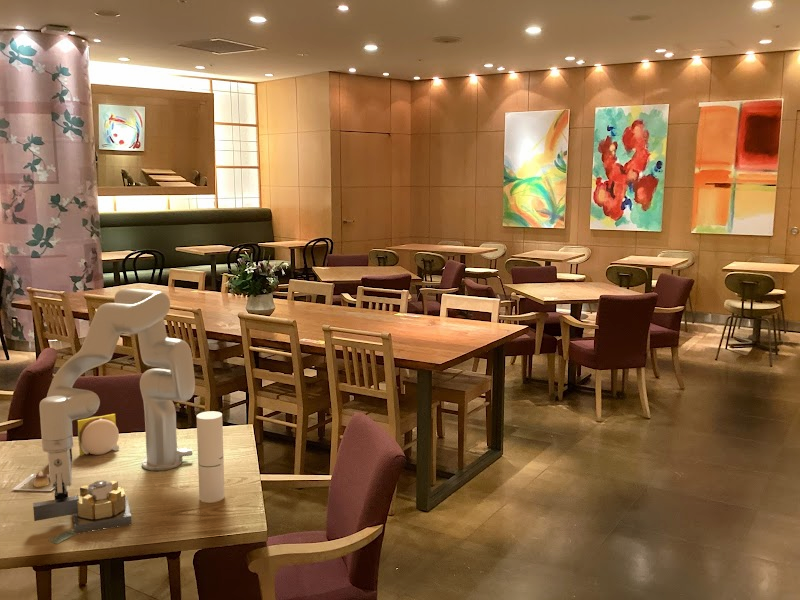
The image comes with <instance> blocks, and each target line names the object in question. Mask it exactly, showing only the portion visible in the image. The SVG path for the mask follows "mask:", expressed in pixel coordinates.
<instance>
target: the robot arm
mask: <svg viewBox="0 0 800 600" xmlns="http://www.w3.org/2000/svg"><path fill="white" fill-rule="evenodd" d="M113 299H114V300H113V301H114V302H106V303H103V304H101V305H100V306H99V307H98V308H96V311H95V314H94V315H93V318H92V321H91V323H90V325H89V328H88V330H87V333H86V335H85V338H84V340H83V343H82V346H81V348H80V349H79V351H77V352H76V353H75V354H74V355H72V356H71V357H70V358H68V360H66V361H65V362H64V363H63V364H62V365H61V366H60V368H59V369H58V370H57V371H56V373H55V374H54V376H53V378H52V380H51V383H50V386H49V389H48V391H47V394H46V397H45V398H43V399H42V400H40V402H39V417H40V420H39V421H40V431H41V432H40V433H41V443H42V444H41V449H42V452H45V453H47V462H48V471H49V473H48V474H50V477H49V479H50V480H49V482H50V485H51V489H52V488H54V487H55V488H54V500H55V499H61V498H67V497H69V491H68V489H67V486H68V487H70V486H72V479H73V473H72V461H71V458H70V449H71V448H73V447H74V435H73V434H74V433H73V421H75V420H76V421H77V420H83V419H87V418H90V417H92V416H93V415H94V414H96V412H98V411H99V407H100V405H101V399H100V398H99V395H98V394H97V393H95V392H94V391H93V390H89V389H81V388H76V387H75V388H74V387H73V386H74V384H75V383H76V381H77V380H78V378H79V377H81V376H82V375H83V374H85V373H86V372H87V371H90V370H92V369H94V368H96V367H99V366H102V365H104V364H106V363H108V362H110V361H111V360H112V358H113V355H114V352H115V350H116V347H117V344H118V342H119V341H120V337H121V335H122V334H128V335H137V339H138V345H139V351H140V358H141V361H142V362H143V364H144V365H146V366H148V367H154V368H150V369H147V370H146V371H145V370H144V372H143V373H142V374H141V377H140V379H139V389H140V394H141V397H142V400H143V401H142V402H143V410H144V423H145V425H144V426H145V427H144V429H145V446H146V447H145V448H146V457H145V458H144V459H142V461H141V466H142V468H143V469H146V470H149V471H158V472H159V471H166V470H167V471H168V470H171V469H175V468H177V467H179V466H180V465H181V464H182V463H183V457H189V456H193V450H192V449H187V448H188V447H186V448H181V449H180V448H179V447H178V440H177V439H178V436H177V413H176V412H177V411H176V410H177V409H176V406H175V404H174V402H187V401H189V400H190V399H191V398H192V397H193V396H194V395H195V394H194V393H195V389H196V379H195V370H194V369H195V368H194V362H193V360H194V359H193V354H192V349H191V347H190V345H189V344H188V342H186V341H185V340H184V339H182V338H181V339H180V338H173V337H169V336H168V334H167V329H166V324H165V320H164V318H166V317H167V315H168V314H169V312H170V309H171V300H170V298H169V296H168V295H167V293H165V292H163V291H159V290H149V289H142V288H141V289H140V288H123V289H119V290H118V291H117V292H116V293H115V295H114V297H113Z"/></svg>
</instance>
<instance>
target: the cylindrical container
mask: <svg viewBox="0 0 800 600" xmlns="http://www.w3.org/2000/svg"><path fill="white" fill-rule="evenodd" d="M223 424H224V423H223V413H222V412H220V411H213V410H211V411H201V412H200V413H198V414H196V435H197V437H196V438H197V439H196V440H197V442H196V443H197V462H198V463H197V467H198V470H197V471H198V494H199V495H198V498H199V501H200V500H201V502H202V503H209V504H210V503H211V504H212V503H218V502H220V501H222V500H224V498H225V495H226V494H225V493H226V492H225V465H224V434H223V433H224V430H223V429H224V428H223V427H224V426H223Z"/></svg>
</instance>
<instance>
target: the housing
mask: <svg viewBox="0 0 800 600" xmlns="http://www.w3.org/2000/svg"><path fill="white" fill-rule="evenodd" d="M87 486H88V491H89V494H90V495H94V501H100V500H106V499H109V498H110V497H109V492H111V491H112V483H111V481H107V480H97V481H94V482H93V483H90V484H89V485H87ZM125 501H126V508H125V509H124V510H122V511H121V512H119V513H118V514H116V515H112V516H111V517H106V518H100V519H95V518H94V519H88V518H82V517H80V516H78V514H73V526H74V527H73V528H74V529H73V528H70V529H68V530H66V531H64V532H62V533H60V534H58V535H56V536H53V537H52V538H50V539H48V542H49V543H52V544H55V545H58V544H60V543H62V542H64V541H66V540H69V539H70V538H72V537H74V536H76V535H79V533H80V534H84V533H83V532H86V533H89V532H88V531H92V530H98V529H103V528H110V529H112V528H111V527H115V528H118V527H117V526H121V527H125V526H124V525H127V526H130V525H129V524H132V514H131V510H130V506H129V505H130V504H129V501H128V495H125ZM98 531H99V530H98ZM92 532H93V531H92Z"/></svg>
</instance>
